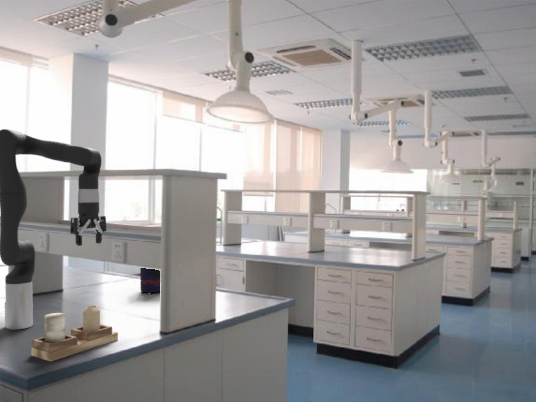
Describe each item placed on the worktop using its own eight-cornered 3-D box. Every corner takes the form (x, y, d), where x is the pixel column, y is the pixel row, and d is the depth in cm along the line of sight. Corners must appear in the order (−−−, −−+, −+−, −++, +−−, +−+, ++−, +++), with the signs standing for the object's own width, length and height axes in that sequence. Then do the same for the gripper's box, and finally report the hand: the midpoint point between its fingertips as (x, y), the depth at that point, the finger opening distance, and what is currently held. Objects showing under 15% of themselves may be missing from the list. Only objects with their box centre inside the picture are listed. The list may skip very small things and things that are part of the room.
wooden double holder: (31, 355, 156) (30, 316, 156) (99, 335, 178) (98, 300, 178) (50, 361, 151) (50, 320, 151) (117, 339, 173) (117, 304, 173)
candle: (92, 338, 166) (92, 308, 166) (79, 336, 168) (79, 307, 168) (103, 333, 171) (103, 305, 171) (90, 332, 173) (90, 304, 173)
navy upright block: (168, 292, 253) (168, 233, 253) (147, 295, 245) (147, 235, 245) (155, 288, 264) (154, 232, 263) (134, 291, 256) (134, 233, 255)
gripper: (97, 200, 192) (98, 242, 193) (65, 201, 180) (66, 245, 181) (110, 201, 188) (111, 243, 189) (78, 201, 176) (79, 246, 177)
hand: (89, 244), depth 185 cm, fingers open, 8 cm apart
